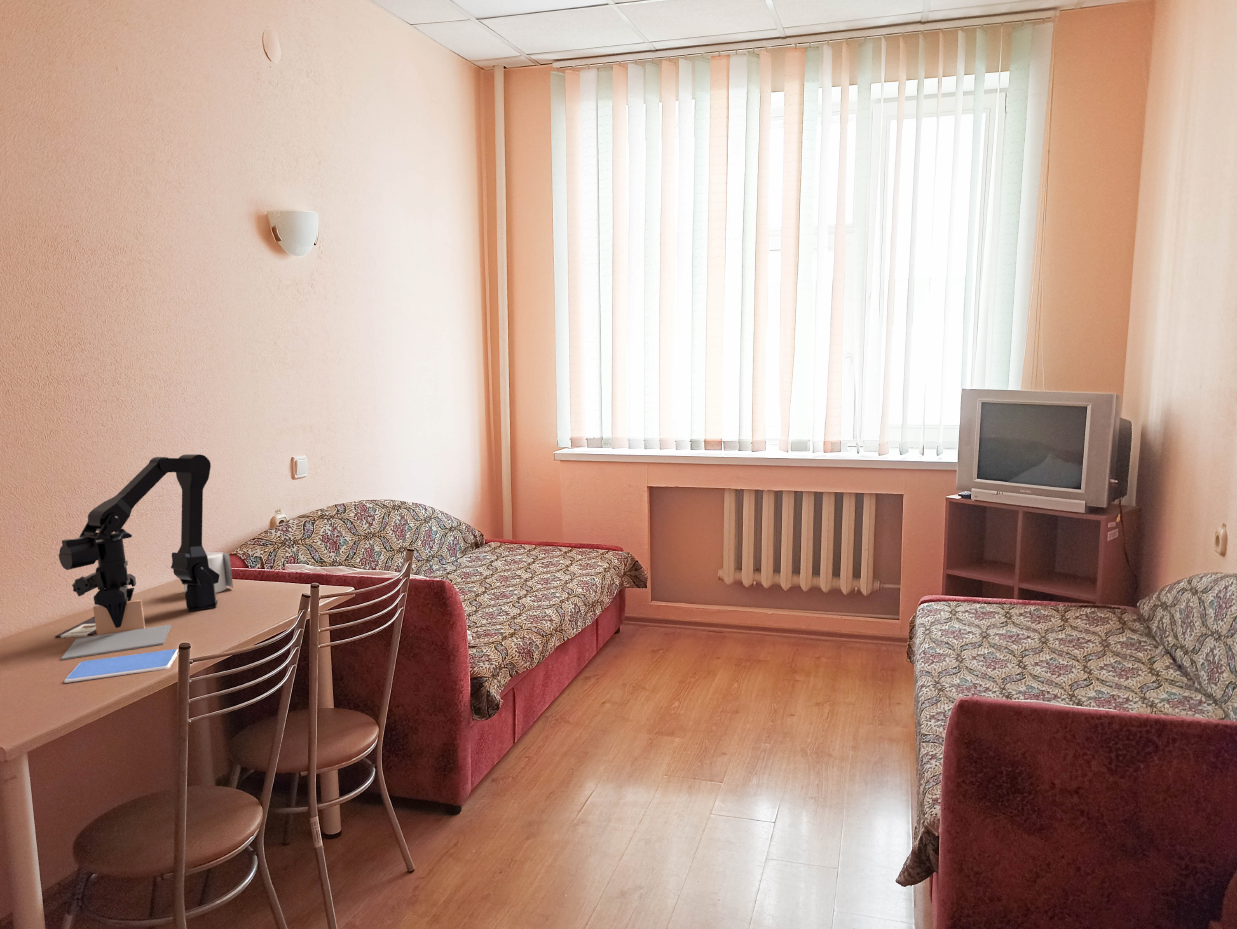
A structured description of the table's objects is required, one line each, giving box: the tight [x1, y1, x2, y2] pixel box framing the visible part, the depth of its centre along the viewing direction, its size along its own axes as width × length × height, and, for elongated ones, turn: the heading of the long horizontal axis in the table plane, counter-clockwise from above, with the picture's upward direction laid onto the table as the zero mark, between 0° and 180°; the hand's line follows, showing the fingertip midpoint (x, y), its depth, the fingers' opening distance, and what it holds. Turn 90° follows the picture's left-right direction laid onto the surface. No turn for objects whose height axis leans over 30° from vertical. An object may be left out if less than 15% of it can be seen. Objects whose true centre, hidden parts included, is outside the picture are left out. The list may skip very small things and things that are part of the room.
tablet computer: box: [63, 648, 179, 684], centre depth 189 cm, size 19×13×1 cm, turn 106°
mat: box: [60, 624, 172, 661], centre depth 208 cm, size 20×16×1 cm
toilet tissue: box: [183, 551, 234, 594], centre depth 252 cm, size 11×12×10 cm
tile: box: [92, 598, 146, 635], centre depth 216 cm, size 10×2×7 cm, turn 110°
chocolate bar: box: [54, 616, 97, 639], centre depth 224 cm, size 9×1×18 cm
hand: (120, 623), depth 216 cm, fingers open, 6 cm apart
